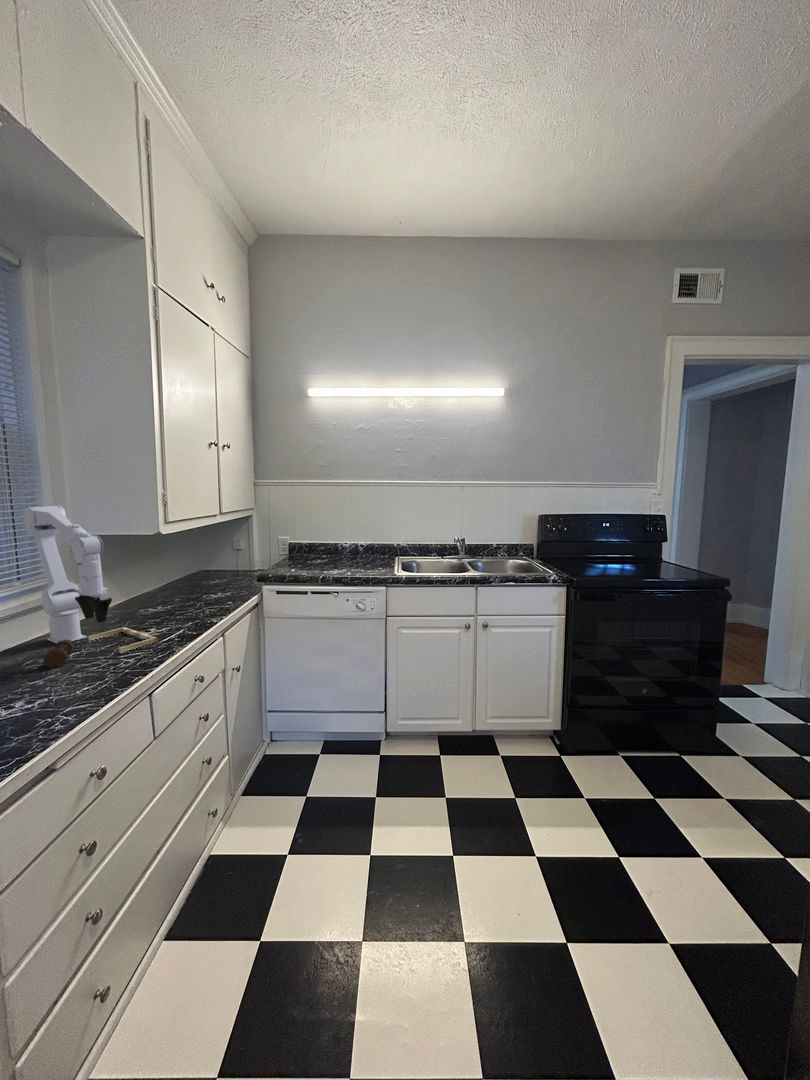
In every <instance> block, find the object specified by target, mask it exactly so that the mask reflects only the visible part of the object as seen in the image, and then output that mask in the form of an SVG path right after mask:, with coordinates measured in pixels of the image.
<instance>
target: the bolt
mask: <svg viewBox="0 0 810 1080" xmlns="http://www.w3.org/2000/svg"><path fill="white" fill-rule="evenodd" d="M73 642H74V641H70V640H62V641H58V642H57V644H56V643H55V646H54V648H49V649H48V651H47V652H46V653H45V656H44V657H43V659H42V661H43V662H44V664H45V665H46V666H47V667H49V668H57V667H61V666H63V667H64V665H65V663H66V661H67V660H68V658H69V656H70V654H71V652H72V651H73V649H74V647H75V645H74V643H73ZM68 654H69V655H68Z"/></svg>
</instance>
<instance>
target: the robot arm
mask: <svg viewBox="0 0 810 1080" xmlns="http://www.w3.org/2000/svg"><path fill="white" fill-rule="evenodd" d="M66 513H67V512H66V509H65V508H64V507H63V506H61V505H59V504H58V505H51V506H50V505H49V506H47V505H46V506H32V507H31V506H27V507H26V508H25V509H24V510H23V516H22V520H23V521H22V522H23V523H24V526H25V531H26V533H27V535H29V536H31V537H33V539H34V541H35V544H36V546H37V551H38V553H39V557H40V560H41V563H42V567H43V570H44V572H45V576H46V579H47V582H48V587H46V589H45V590H44V591H43V592H42V594H41V599H42V608H43V611H44V612H45V613H46V614H47V615H49V618H48V627H49V635H50V636H49V637H47V638H46V639H47V641H50V642H52V643H54V644H55V645H56V644H57V642H58V641H62V640H70V641H72V642H74V641H75V640H76V641H78V640H82V639H86V638H88V636H86V635H83V634H82V631H81V621H80V614H79V612H81V611H82V614H83V617H84V618H85V620H88V619H91V618H92V619H93V618H94V617H95V620H96V622H97V623H103V622H106V621H107V616H108V610H109V608H110V605H111V603H112V602H113V598H112V597H109V593H108V592H107V591H108V590H109V589H108V587H104V581H103V572H102V562H101V555H102V554H103V552H104V542H103V540H102V539H101V537H100V536H99V535H92V534H91V535H90V534H89V533H88V532H87V531H86V530H85V529H84V528H83V527H81V526H80V525H79V524H77V523H76V524H74V523H71V521H70V520H69V519H68V518H67V515H66ZM60 532H61V534H60V535H61V538H62V539H63V541H65V542H66V543H67V544H68V545H69V546H71V551H72V553H73V555H74V560H75V562H76V563H77V566H78V567H77V568H78V576H79V584H80V585H79V586H78V584H74V583H73V582H70V581H69V580H68V578H67V574H66V571H65V568H64V565H63V562H62V559H61V556H60V553H59V549H58V547H57V546H58V545H57V543H56V541H55V535H56V534H58V533H60Z"/></svg>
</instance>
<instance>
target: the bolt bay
mask: <svg viewBox="0 0 810 1080" xmlns="http://www.w3.org/2000/svg"><path fill="white" fill-rule="evenodd" d="M120 632H124V633H123V634H125V633H127V634H126V635H128V634H130V635H129V636H131V635H133V636H132V637H134V636H136V637H135V638H137V637H139V638H138V639H140V638H142V639H141V640H142V641H137V642H135V643H131V644H128V645H124V646H119V647H118V653H119V654H124V653H127V652H126V651H128V652H130V651H129V650H131V651H133V650H132V649H134V650H137V649H136V648H138V647H141V648H143V647H142V646H144V647H146V646H145V645H148V644H151V645H153V644H152V643H154V644H156V643H155V642H157V643H159V638H158V637H157V636H154V635H150V634H147V633H144V632H141V631H139V630H134V629H131V628H128V627H125V626H123V627H118V628H114V629H111V630H107V631H104V632H100V633H99V632H98V633H95V634H91V635H88V636H87V638H88V639H87V640H89V641H88V642H92V641H91V640H94V641H96V640H95V639H97V640H100V639H99V638H101V639H103V637H105V638H108V636H109V637H111V635H112V636H115V635H114V634H116V635H119V634H118V633H120ZM120 634H121V633H120ZM143 639H145V640H143ZM148 646H149V645H148ZM138 649H139V648H138ZM123 652H124V653H123Z"/></svg>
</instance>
